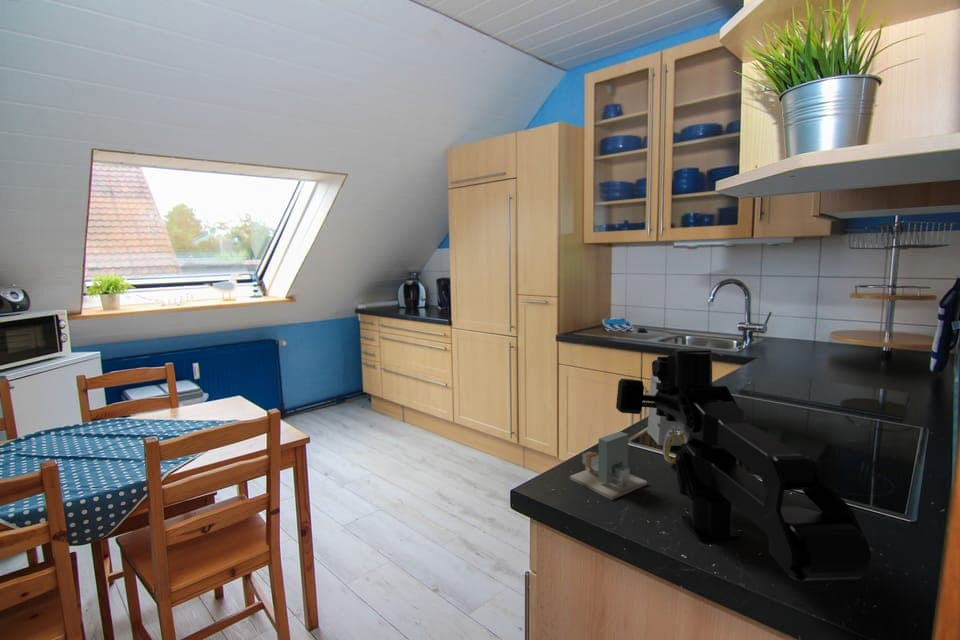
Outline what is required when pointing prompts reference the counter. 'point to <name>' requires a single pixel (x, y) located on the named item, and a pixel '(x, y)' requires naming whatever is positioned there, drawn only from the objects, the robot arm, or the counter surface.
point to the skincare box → (660, 421)
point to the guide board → (609, 489)
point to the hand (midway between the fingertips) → (649, 391)
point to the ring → (668, 445)
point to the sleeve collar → (611, 455)
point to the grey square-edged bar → (617, 469)
